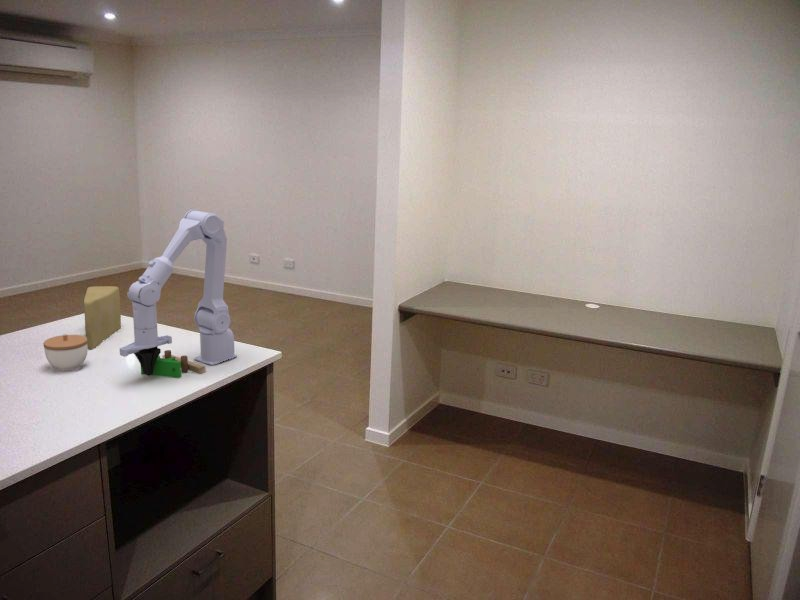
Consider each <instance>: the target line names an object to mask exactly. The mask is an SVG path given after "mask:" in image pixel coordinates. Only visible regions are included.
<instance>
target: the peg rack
mask: <svg viewBox="0 0 800 600" xmlns="http://www.w3.org/2000/svg"><path fill="white" fill-rule="evenodd" d="M171 357H175V361H181V374H185V373H188V372H189V371H190V372H192V373H195V374H198V375H202V374H204V373H206V366H205V365H203V364H200V363H197V362H194V361H192V360H189V359H188V355H181V356H180V357H179V356H176V355H173V354H172V350H170V349H168V350H164V354H162V355H161V358H162V359H167V358H171Z"/></svg>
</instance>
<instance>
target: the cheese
mask: <svg viewBox="0 0 800 600" xmlns="http://www.w3.org/2000/svg"><path fill="white" fill-rule="evenodd" d="M120 294H121V293H120V289H119V287H118V286H114V285H113V286H111V285H108V286H107V285H106V286H104V285H103V286H100V285H99V286H96V285H95V286H89V287H87V289H86V293H85V295H84V299H83V310H84V329H85V330H84V332H85V337H86V338H87V340H88V342H87V346H88V350H94V349H95V348H97V347H96V346H97V345H98V344H99V345H100V344H101V343H103V342H104V341H105V340H106V339H107V338H109V336H111V335H112V334H114V333H115V332H117V330H120V329H121V328H122V322H121V321H122V320H121V319H122V315H121V312H122V311H121V310H122V309H121V295H120ZM103 340H104V341H103ZM99 345H98V346H99ZM93 348H94V349H93Z"/></svg>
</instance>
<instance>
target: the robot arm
mask: <svg viewBox="0 0 800 600" xmlns="http://www.w3.org/2000/svg"><path fill="white" fill-rule="evenodd" d="M224 224H225V220H223V219H222V217H220V216H219V215H218V214H217V213H214V212H205V211H202V210H201V211H200V210H196V209H190V210H188V211H187V212H186V213H185V214H184V216H183V218H182V219H181V220H180V221H179V226H178V229H177V230H176V231H175V234H174V235H173V237H172V239H171V240H170V242H169V244H168V246H166V248H165V250H163V251H164V252H163V253H162V254H161V256H158V257H154V258H153V259H152V260H149V262H148V267H147V268H146V270H145V271H144V272H143V273H142V275H141V276H139V277H138V278H137V279H138V280H137V281H135V282H133V283H132V284H131V285H130V286H129V288H128V292H126V296H127V297H128V299H129V301H131V305H132V306H131V307H132V317H133V319H132V320H133V333H134V334H133V335H134V341H133V342H132V343H131V342H130V343H129V344H127V345H125V346H122V347H119V356H121V357H124V358H125V357H128V356H129V355H132V354H134V355H135V357H136V359H137V361H138V362H139V364H140V368H141V367H142V369H143V373H144V374H143V375H145V376H146V377H150V376H154V375H153V371H154V366H155V363H156V360H157V358H158V356H160V354H161V352H162V351H161V350H162V349H161V348H159V347H161V346H163V345H171V344H172V343H173V337H172V336H171V335H168V334H167V335H162V336H158V333H159V332H158V320H157V319H158V317H157V315H158V314H157V303H158V301H160V299H161V291H162V290H163V289H162V288H163V286H164V285H165V284H166V282H167V281H168V279H169V278H170V276H171V275H172V273H174V269H175V268H174V263H175V262H176V261H177V259H179V257H180V255H181V254H182V253H183V252H184V250H186V248H187V247H188V246H189V244H190V243H191V242H193V241H197V240H201V241H202V242H204V243H205V245H206V248H205V249H206V251H205V261H204V262H205V266H204V282H203V293H202V294H203V297H202V299H201V300H199V301H198V303H197V308H196V311H195V312H194V316H193V320H194V322H195V324H196V325H197V326H198V330H199V341H200V342H199V344H200V345H199V347H200V355H199V356H196V357H194V360H195V361H197V362H201V363H203V364H206V365H209V366H215V365H218V364H221V363H224V362H226V360H227V361H229V360H232V359H235V358H237V355H236V354H235V335H234V332H233V331H232V329H231V328H229V327H230V325H231V316H230V314H229V313H230V312H229V306H228V304H227V302H226V301H225V300H224V291H225V290H224V289H225V288H224V286H225V275H226V260H227V259H226V257H227V244H228V243H227V242H228V240H227V239H228V238H227V234H226V232H225V229H224V227H225V225H224ZM234 357H235V358H234ZM231 358H232V359H231ZM228 359H229V360H228ZM223 361H224V362H223ZM220 362H221V363H220Z"/></svg>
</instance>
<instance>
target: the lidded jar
mask: <svg viewBox="0 0 800 600" xmlns="http://www.w3.org/2000/svg"><path fill="white" fill-rule="evenodd" d="M87 342H88V340H87V338H86V335H85V336H84V335H81V334H66V333H65V334H62V335H57V336H53V337H50V338H47V339H46V340H44V341H43V343H42V344H43V349H44V355H45V358H46V360H47V362H48V363H49V364H50V365H51V366H52V367H53V368H54V369H55V370H57V371H60V370H67V371H73V370H76V369H75V368H77V369H79V368H80V367H81V365H82V364H83V363H84V362H85V360H86V358H87V356H88V350H89V349H88V346H87ZM79 366H80V367H79ZM78 367H79V368H78ZM72 369H73V370H72Z"/></svg>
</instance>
